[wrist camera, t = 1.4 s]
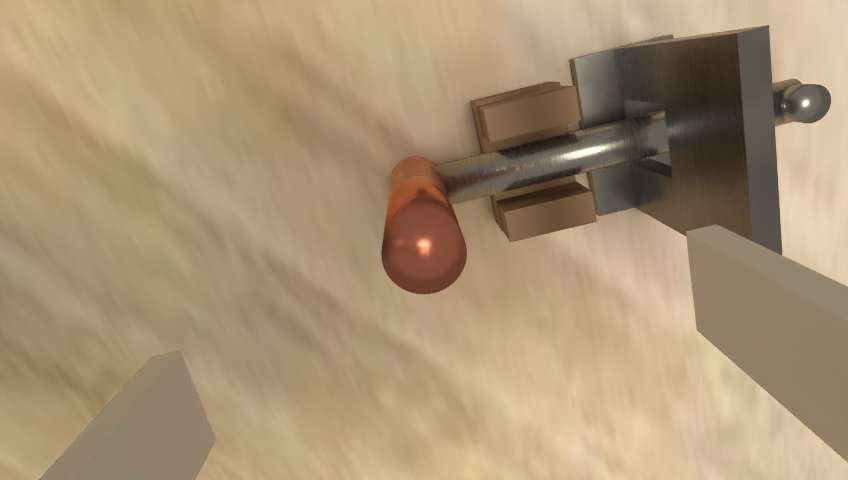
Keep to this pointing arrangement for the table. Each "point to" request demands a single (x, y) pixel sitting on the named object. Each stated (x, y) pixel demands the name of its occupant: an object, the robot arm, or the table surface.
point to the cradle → (524, 123)
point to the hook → (524, 182)
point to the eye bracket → (691, 131)
